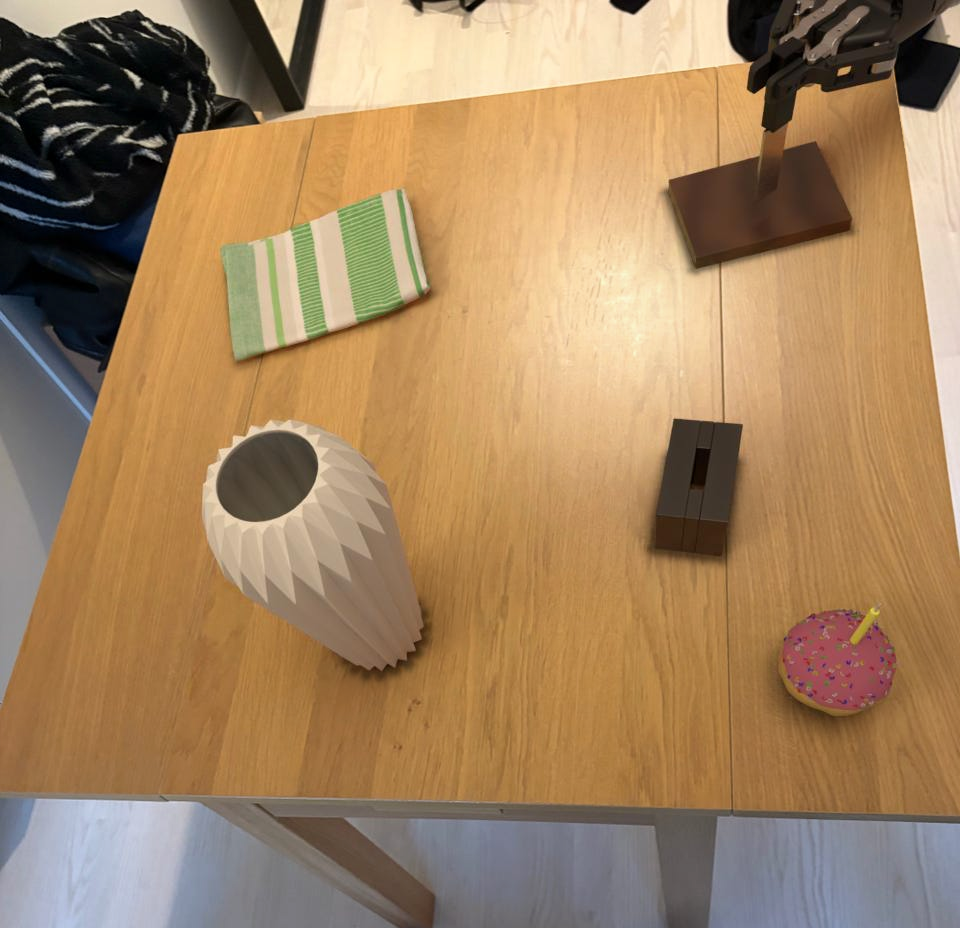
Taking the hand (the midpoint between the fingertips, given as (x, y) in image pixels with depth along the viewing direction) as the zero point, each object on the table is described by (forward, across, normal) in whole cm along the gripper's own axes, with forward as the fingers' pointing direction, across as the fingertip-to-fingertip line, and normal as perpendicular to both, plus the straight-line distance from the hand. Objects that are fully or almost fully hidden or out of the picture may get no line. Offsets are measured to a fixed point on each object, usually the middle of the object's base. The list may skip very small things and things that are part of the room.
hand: (759, 87), depth 73 cm
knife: (-3, 0, +13) cm, 13 cm away
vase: (+55, +13, +16) cm, 59 cm away
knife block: (+25, +22, +16) cm, 37 cm away
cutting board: (-4, -2, +16) cm, 17 cm away
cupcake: (+28, +41, +16) cm, 53 cm away
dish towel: (+36, -29, +16) cm, 49 cm away
